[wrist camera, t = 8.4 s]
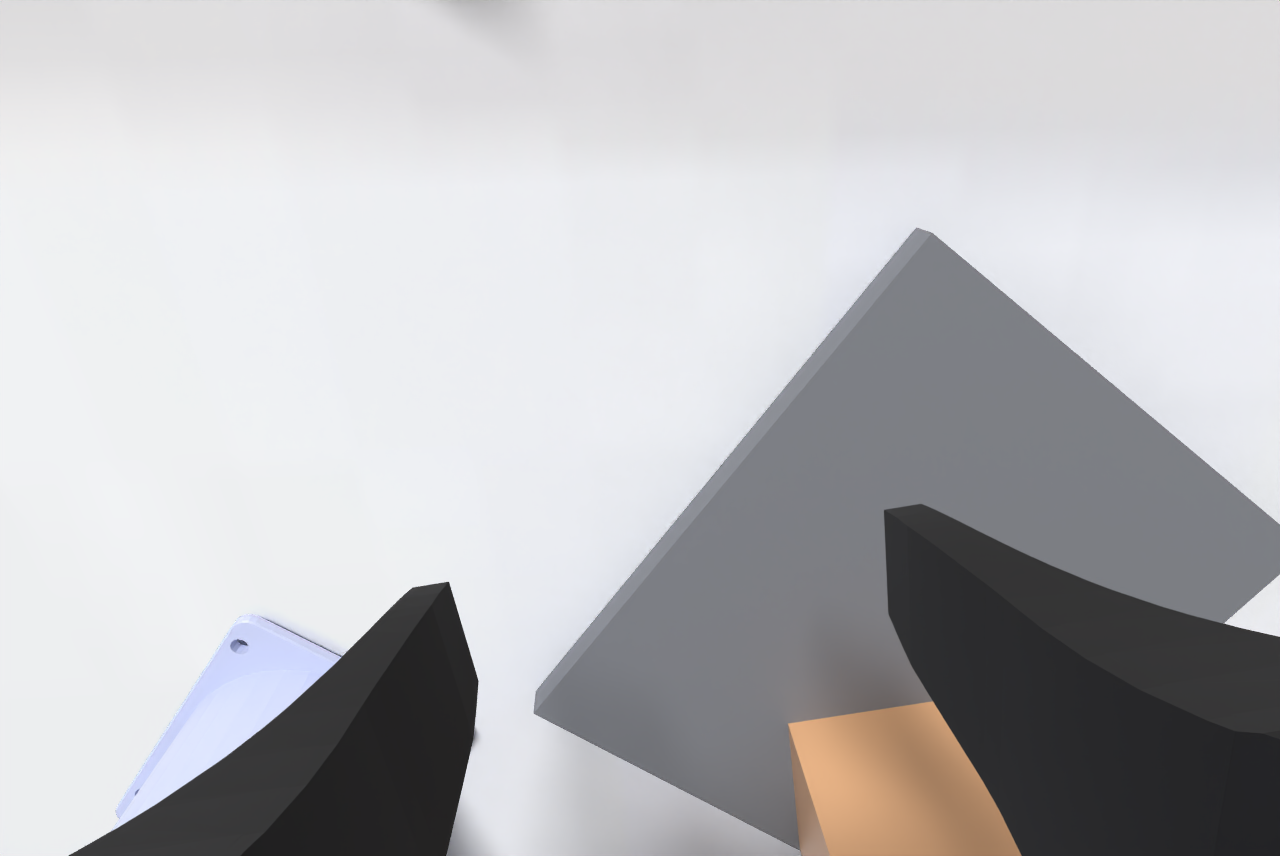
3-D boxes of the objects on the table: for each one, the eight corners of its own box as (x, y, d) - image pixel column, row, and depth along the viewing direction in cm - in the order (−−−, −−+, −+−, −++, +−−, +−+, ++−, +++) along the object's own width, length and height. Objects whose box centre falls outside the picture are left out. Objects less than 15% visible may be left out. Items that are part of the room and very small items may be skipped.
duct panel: (892, 878, 29) (949, 1023, 24) (535, 691, 25) (521, 822, 20) (1280, 532, 24) (1445, 630, 19) (916, 227, 20) (1014, 259, 15)
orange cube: (959, 823, 26) (1055, 1009, 21) (799, 847, 27) (853, 1040, 21) (960, 697, 24) (1068, 866, 19) (788, 723, 24) (844, 900, 19)
